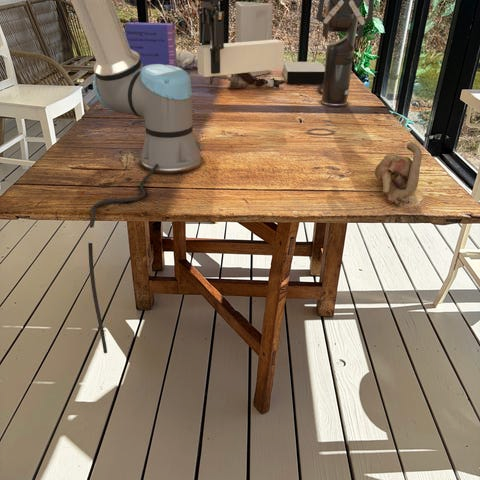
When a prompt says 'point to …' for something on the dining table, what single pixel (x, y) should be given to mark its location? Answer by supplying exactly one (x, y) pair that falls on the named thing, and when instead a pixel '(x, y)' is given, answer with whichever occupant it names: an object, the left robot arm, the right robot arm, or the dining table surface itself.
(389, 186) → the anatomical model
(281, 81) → the figurine
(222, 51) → the bar
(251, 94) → the dining table surface
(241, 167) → the dining table surface
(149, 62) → the cereal box
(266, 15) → the white tapered box
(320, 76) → the disc drive
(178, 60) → the toy
